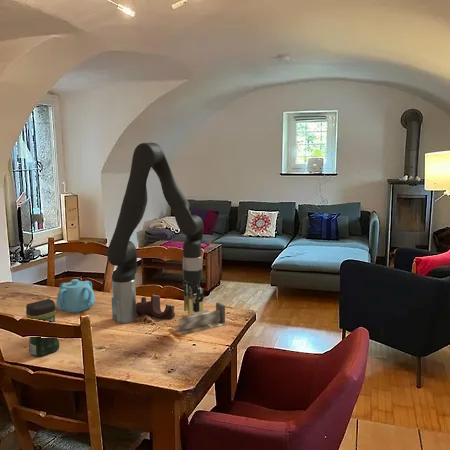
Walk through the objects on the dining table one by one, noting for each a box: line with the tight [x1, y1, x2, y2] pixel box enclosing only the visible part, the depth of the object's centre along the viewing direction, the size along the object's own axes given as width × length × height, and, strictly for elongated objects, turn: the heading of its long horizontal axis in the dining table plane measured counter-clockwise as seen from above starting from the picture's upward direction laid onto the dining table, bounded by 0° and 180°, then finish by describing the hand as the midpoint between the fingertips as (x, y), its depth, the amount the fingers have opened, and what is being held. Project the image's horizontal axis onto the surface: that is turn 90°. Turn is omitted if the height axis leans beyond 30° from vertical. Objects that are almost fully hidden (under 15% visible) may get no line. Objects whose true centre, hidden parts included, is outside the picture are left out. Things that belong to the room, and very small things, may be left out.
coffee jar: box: [25, 298, 60, 357], centre depth 162 cm, size 10×8×19 cm
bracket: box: [136, 294, 176, 319], centre depth 195 cm, size 6×17×10 cm, turn 71°
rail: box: [172, 301, 229, 336], centre depth 183 cm, size 20×10×8 cm, turn 122°
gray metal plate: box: [191, 309, 211, 316], centre depth 197 cm, size 8×6×1 cm
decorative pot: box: [55, 278, 96, 314], centre depth 205 cm, size 16×16×14 cm
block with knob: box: [183, 293, 204, 315], centre depth 181 cm, size 6×4×7 cm
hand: (193, 309), depth 181 cm, fingers closed on block with knob, 4 cm apart
